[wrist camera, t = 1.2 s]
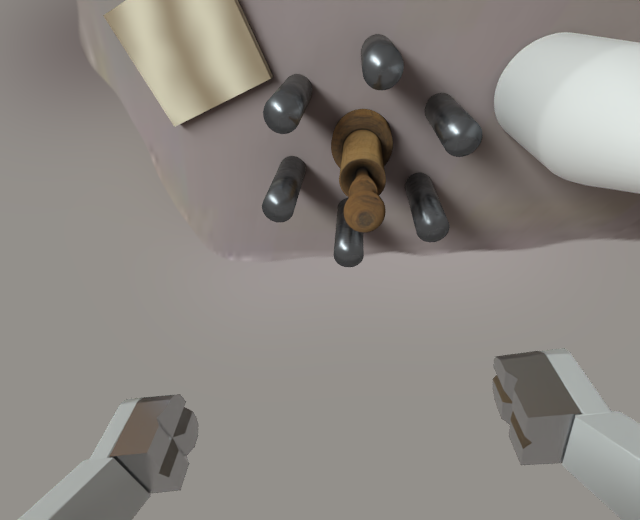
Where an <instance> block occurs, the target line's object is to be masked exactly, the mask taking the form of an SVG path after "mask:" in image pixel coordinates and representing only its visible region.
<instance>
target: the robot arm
mask: <svg viewBox="0 0 640 520" xmlns="http://www.w3.org/2000/svg"><path fill="white" fill-rule="evenodd" d="M494 369H495V371H496V374H497V375H496V376H495V377H494V378H493V393H494V399H495V402H496V405H497V408H498V411H499V413H500V416H501V418H502V419H503V420H504V421H506V422H507V423H508V424H509V425H510V430H509V438H510V440H511V443H512V445H513V447H514V450H515V452H516V455H517V457H518V459H519V462H520V464H521V465H531V464H532V465H533V464H553V463H562V466H563V467H564V468H565V469H567V470H568V471H569V472H570V473H571V474H572V475H573V476H574V477H575V478H576V479H578V480H579V481H580V482H581V483H582V484H583V485H584V486H585V487H586V488H587V489H589V490H590V491H591V492H592V493H593V494H594V495H595V496H596V497H597V498H599V500H601V501H602V502H603V503H604V504H605V505H606V506H607V507H608V508H609V509H610V510H612V511H613V512H614V513H615V514H616V515H617V516H618V517H619V518H620V519H621V520H640V424H639V423H638V422H637V421H635V420H633V419H631V418H630V417H628V416H627V415H625V414H624V413H622V412H620V411H611V410H610V408H609V407H608V406H607V404H606V403H605V401H604V400H603V398H602V397H601V396H600V394H599V393H598V391H597V390H596V389H595V387H594V386H593V384H592V383H591V381H590V380H589V379H588V377H587V376H586V374H585V373H584V371H583V370H582V369H581V367H580V366H579V364H578V363H577V362H576V360H575V359H574V357H573V356H572V355H571V353H570V352H569V351H568V350H566V349H565V348H563V349H555V350H546V351H534V352H526V353H518V354H511V355H503V356H497V357H496V358H495V359H494ZM185 403H186V401H185V400H184V398H183V397H182V396H181V395H180V394H178V395H167V396H156V397H144V398H135V399H126V400H125V401H124V402H122V403H121V404H120V406H119V407H118V409H117V411H116V413H115V414H114V416H113V418H112V420H111V422H110V423H109V425H108V427H107V429H106V431H105V433H104V434H103V436H102V438H101V440H100V441H99V443H98V445H97V447H96V449H95V450H94V453H93V454H92V456H91V458H90V459H88V460H84V461H83V462H82V463H80V464H79V465H78V466H77V467H76V468H75V469H74V470H73V471H71V473H69V474H68V475H67V476H66V477H65V478H64V479H63V480H61V481H60V482H59V483H58V484H57V485H56V486H55V487H54V488H53V489H51V490H50V491H49V492H48V493H47V494H46V495H45V496H44V497H43V498H41V499H40V500H39V501H38V502H37V503H36V504H35V505H34V506H32V507H31V508H30V509H29V510H28V511H27V512H26V513H25V514H24V515H22V516H21V517H20V518H19V519H18V520H132V519H133V518H134V516H135V515H136V514H137V512H138V511H139V510H140V508H141V507H142V506H143V505H144V503H145V502H146V501H147V500H148V498H149V497H150V493H159V492H168V491H178V490H181V487H182V484H183V481H184V477H185V475H186V472H187V469H188V465H189V462H188V459H187V455H188V454H189V452H190V451H191V450H192V449H193V448H194V447H195V444H196V441H197V437H198V422H197V418H196V416H195V414H194V413H193V411H191V410H189V409H187V408H185V407H184V406H185Z"/></svg>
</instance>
